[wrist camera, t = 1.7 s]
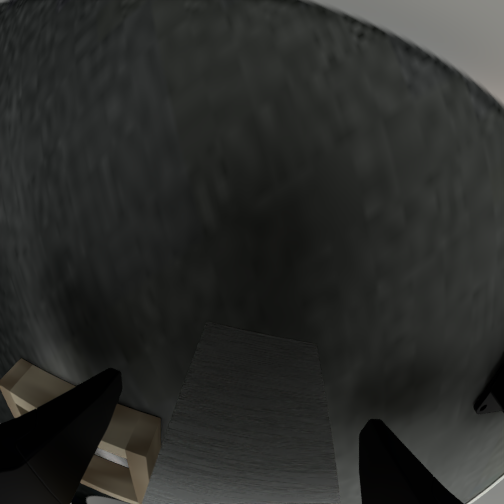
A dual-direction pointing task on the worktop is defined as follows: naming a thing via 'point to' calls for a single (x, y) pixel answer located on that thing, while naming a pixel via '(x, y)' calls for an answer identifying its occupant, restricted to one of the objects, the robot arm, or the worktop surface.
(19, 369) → the frame
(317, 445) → the brushed grey square prism
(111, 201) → the worktop surface
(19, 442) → the robot arm
